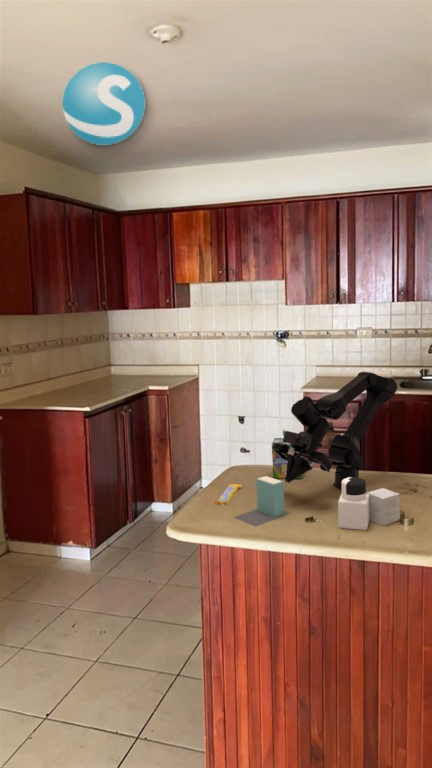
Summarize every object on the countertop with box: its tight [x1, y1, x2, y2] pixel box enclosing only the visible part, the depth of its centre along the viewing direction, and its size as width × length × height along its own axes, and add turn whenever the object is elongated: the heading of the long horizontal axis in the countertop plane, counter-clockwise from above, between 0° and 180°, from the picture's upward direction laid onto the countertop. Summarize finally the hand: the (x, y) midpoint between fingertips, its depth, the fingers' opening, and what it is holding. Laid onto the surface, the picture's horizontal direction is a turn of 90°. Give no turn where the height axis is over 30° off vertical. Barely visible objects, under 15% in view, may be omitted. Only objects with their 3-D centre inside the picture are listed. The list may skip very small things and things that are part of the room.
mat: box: [233, 508, 292, 527], centre depth 166 cm, size 13×9×1 cm
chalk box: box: [271, 429, 303, 480], centre depth 200 cm, size 9×9×15 cm
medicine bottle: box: [337, 477, 371, 531], centre depth 158 cm, size 7×7×12 cm
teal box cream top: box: [255, 475, 285, 517], centre depth 168 cm, size 4×7×9 cm, turn 38°
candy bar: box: [214, 483, 242, 505], centre depth 184 cm, size 17×4×2 cm, turn 163°
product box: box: [366, 487, 401, 526], centre depth 160 cm, size 6×6×7 cm
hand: (286, 481), depth 171 cm, fingers closed
